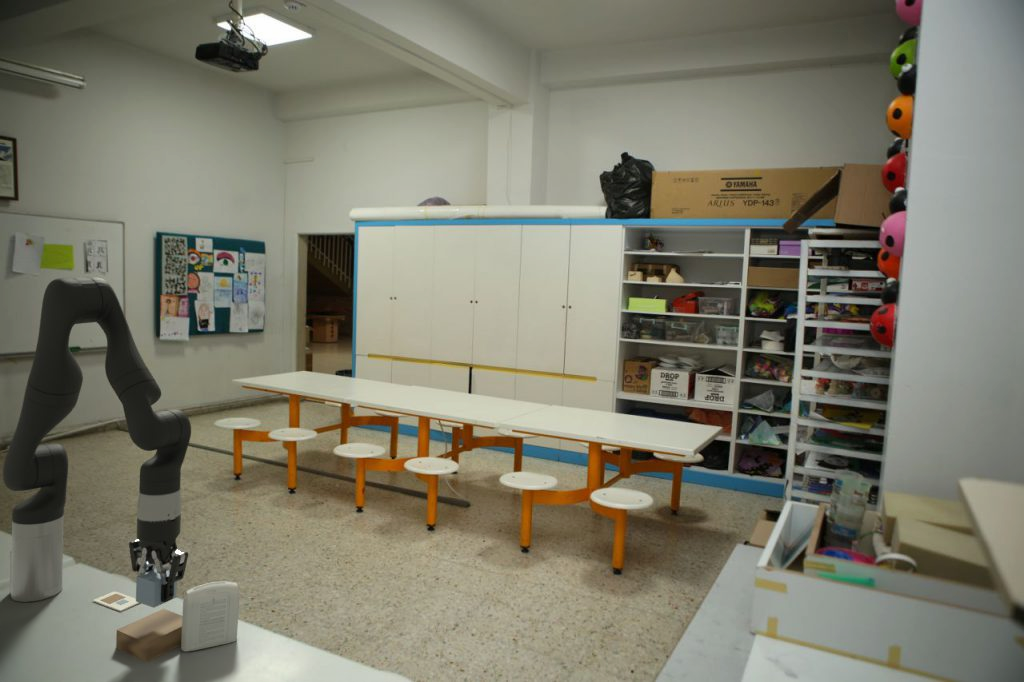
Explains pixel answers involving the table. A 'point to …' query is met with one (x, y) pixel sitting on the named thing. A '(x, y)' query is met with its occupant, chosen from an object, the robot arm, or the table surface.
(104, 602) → the page
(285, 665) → the table surface
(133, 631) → the base brick
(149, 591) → the top brick
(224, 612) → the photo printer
